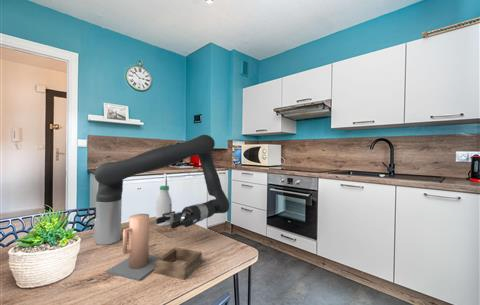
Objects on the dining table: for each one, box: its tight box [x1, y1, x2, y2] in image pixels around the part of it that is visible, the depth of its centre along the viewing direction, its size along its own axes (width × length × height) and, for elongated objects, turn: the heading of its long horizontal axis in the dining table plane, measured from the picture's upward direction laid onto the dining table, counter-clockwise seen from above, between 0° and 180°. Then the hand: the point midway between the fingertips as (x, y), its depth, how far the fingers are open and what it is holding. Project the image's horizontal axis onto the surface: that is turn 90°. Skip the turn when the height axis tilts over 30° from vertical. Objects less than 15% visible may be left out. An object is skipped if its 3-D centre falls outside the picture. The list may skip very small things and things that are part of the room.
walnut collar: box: [153, 247, 203, 280], centre depth 71 cm, size 11×11×4 cm
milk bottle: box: [155, 185, 173, 227], centre depth 114 cm, size 8×8×20 cm
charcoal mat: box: [105, 254, 160, 282], centre depth 72 cm, size 13×13×1 cm
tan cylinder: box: [122, 213, 150, 269], centre depth 71 cm, size 8×6×16 cm
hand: (163, 223), depth 80 cm, fingers open, 8 cm apart
